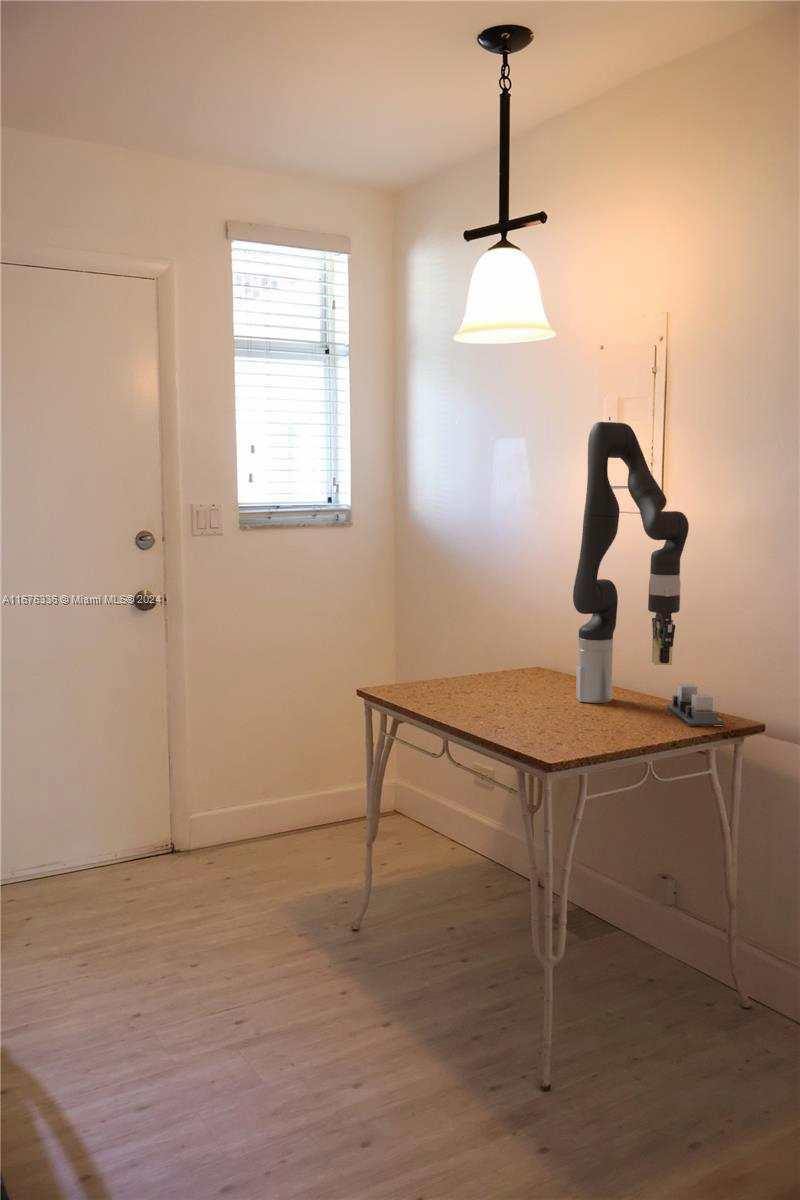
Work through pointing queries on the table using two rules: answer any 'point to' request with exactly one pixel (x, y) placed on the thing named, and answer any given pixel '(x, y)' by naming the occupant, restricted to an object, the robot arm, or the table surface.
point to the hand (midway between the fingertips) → (662, 661)
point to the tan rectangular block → (657, 652)
